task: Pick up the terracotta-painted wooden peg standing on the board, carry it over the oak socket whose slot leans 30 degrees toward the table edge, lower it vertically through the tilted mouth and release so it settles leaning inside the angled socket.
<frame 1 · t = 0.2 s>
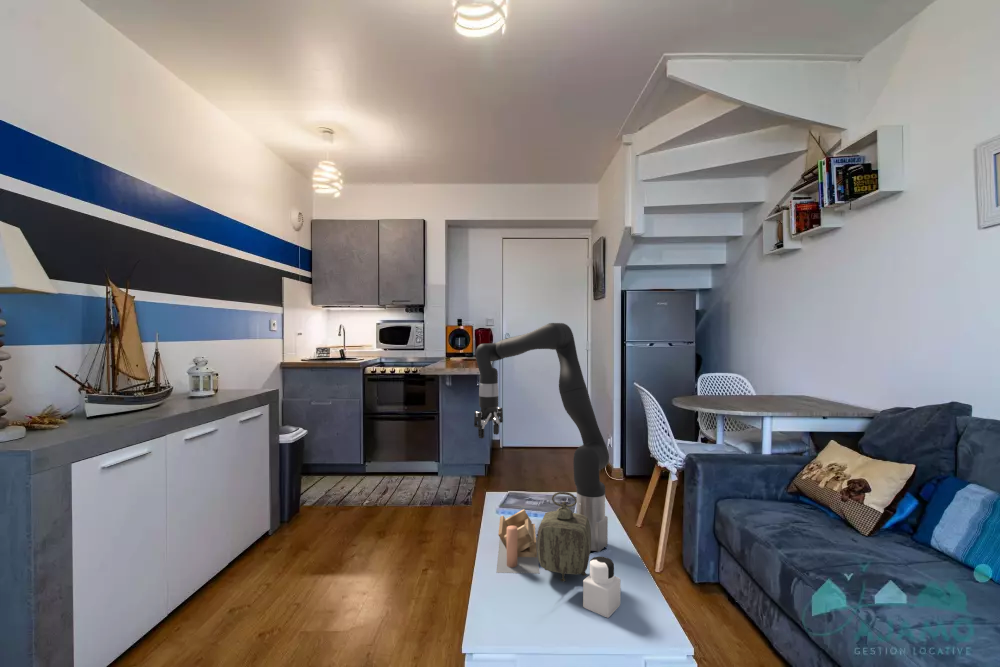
hand: (488, 436, 180), 29 cm above the table, fingers open, 8 cm apart
peg: (512, 564, 137), point 1 cm above the table, touching board
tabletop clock: (563, 581, 131), on the table
white blocky bust: (601, 607, 119), on the table
board: (518, 557, 144), on the table
socket: (520, 546, 148), resting on board
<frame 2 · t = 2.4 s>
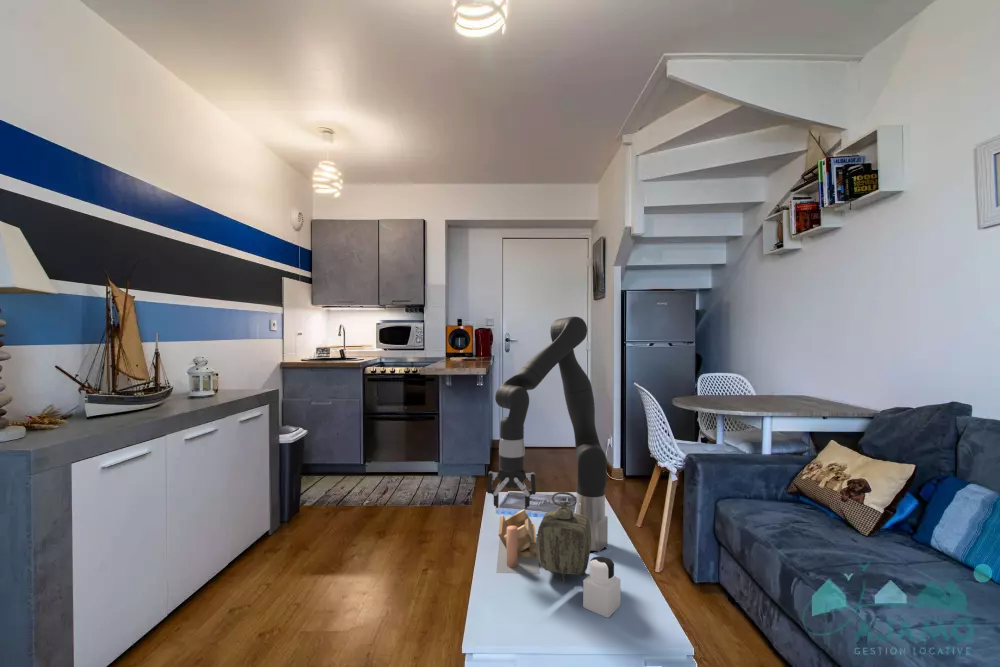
hand: (511, 507, 137), 18 cm above the table, fingers open, 8 cm apart
nothing on the table moved.
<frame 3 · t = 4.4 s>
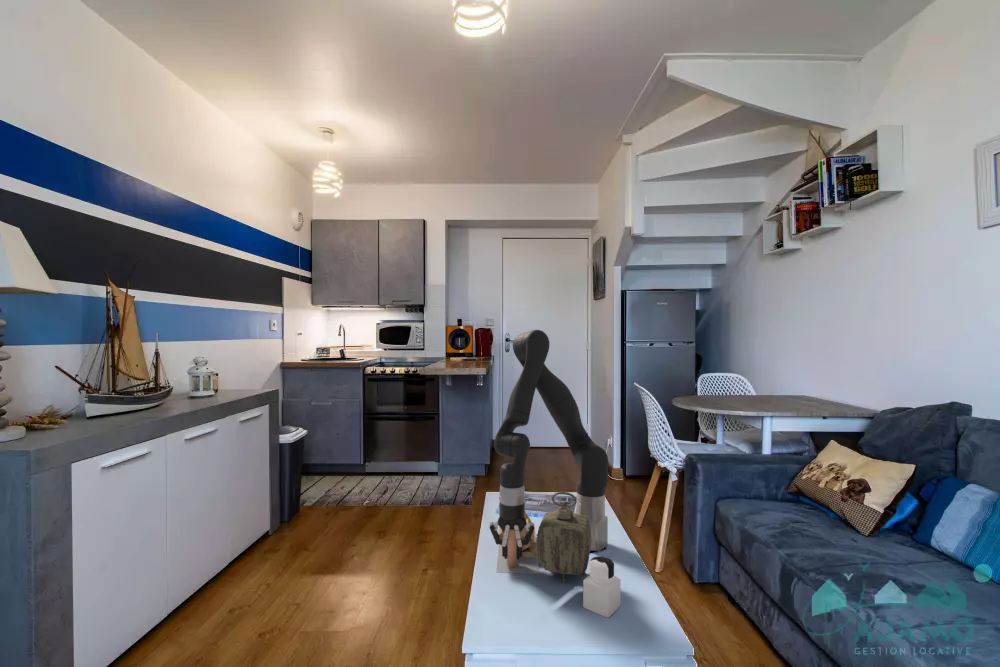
hand: (511, 557, 137), 3 cm above the table, fingers closed on peg, 3 cm apart
peg: (512, 564, 137), point 1 cm above the table, touching board, gripper
everything else where it was.
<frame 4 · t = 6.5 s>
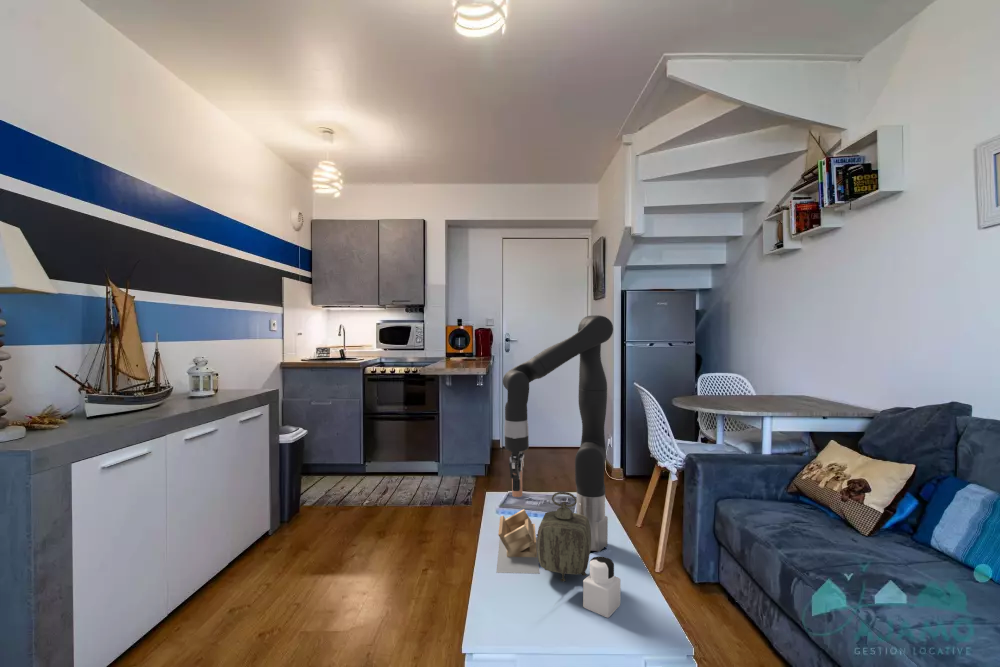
hand: (517, 488, 146), 21 cm above the table, fingers closed on peg, 3 cm apart
peg: (517, 495, 146), point 19 cm above the table, touching gripper
everything else where it was.
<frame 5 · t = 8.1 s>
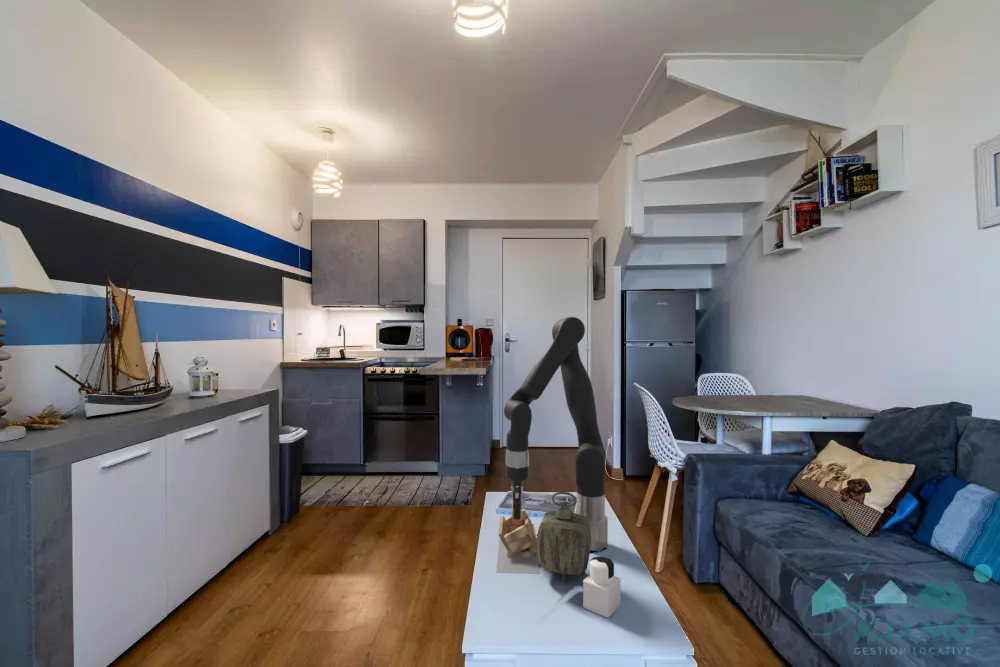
hand: (517, 516, 148), 11 cm above the table, fingers closed on peg, 3 cm apart
peg: (516, 523, 148), point 9 cm above the table, touching gripper
everything else where it was.
when the fingers open (8 cm above the table, at t = 8.9 s): peg drops 2 cm and tips over, resting on socket.
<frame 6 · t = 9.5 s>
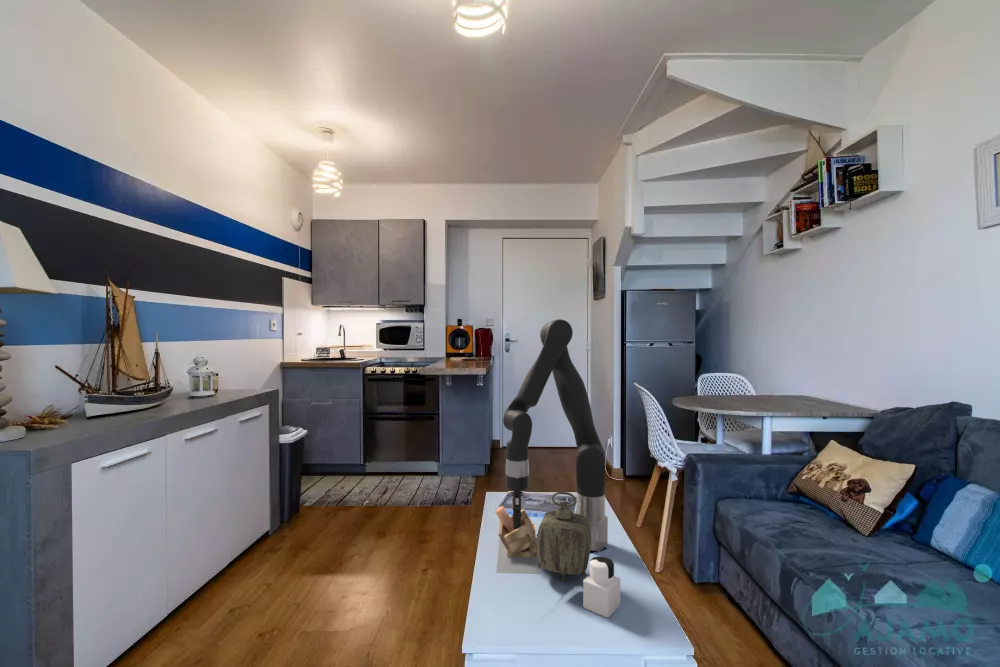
hand: (517, 522, 148), 9 cm above the table, fingers open, 8 cm apart
peg: (517, 538, 149), point 4 cm above the table, tilted 32°, touching socket
everything else where it was.
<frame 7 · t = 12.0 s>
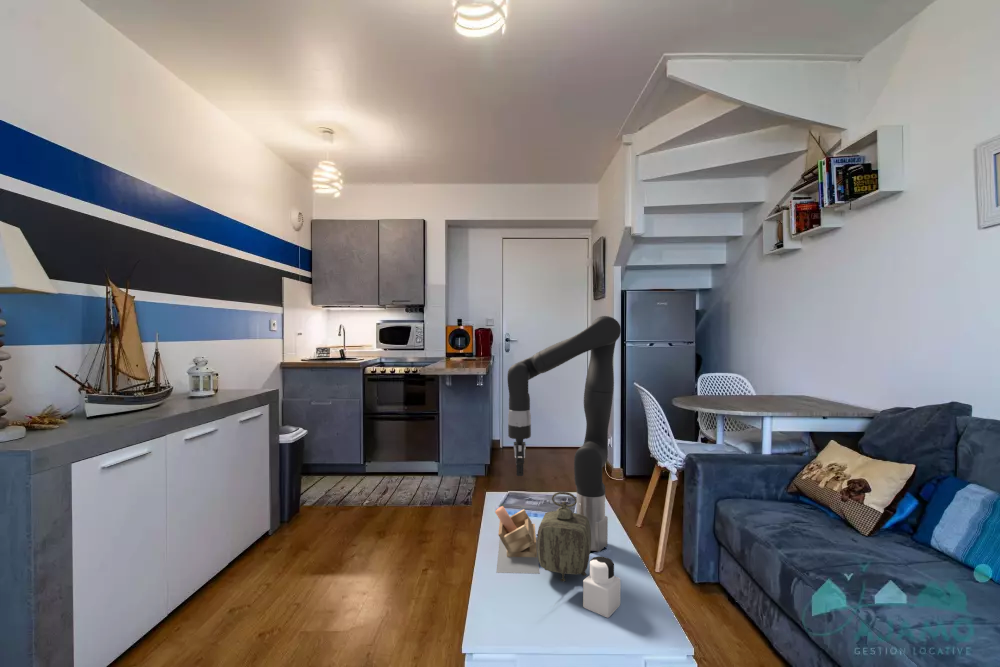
hand: (519, 471, 154), 23 cm above the table, fingers open, 8 cm apart
nothing on the table moved.
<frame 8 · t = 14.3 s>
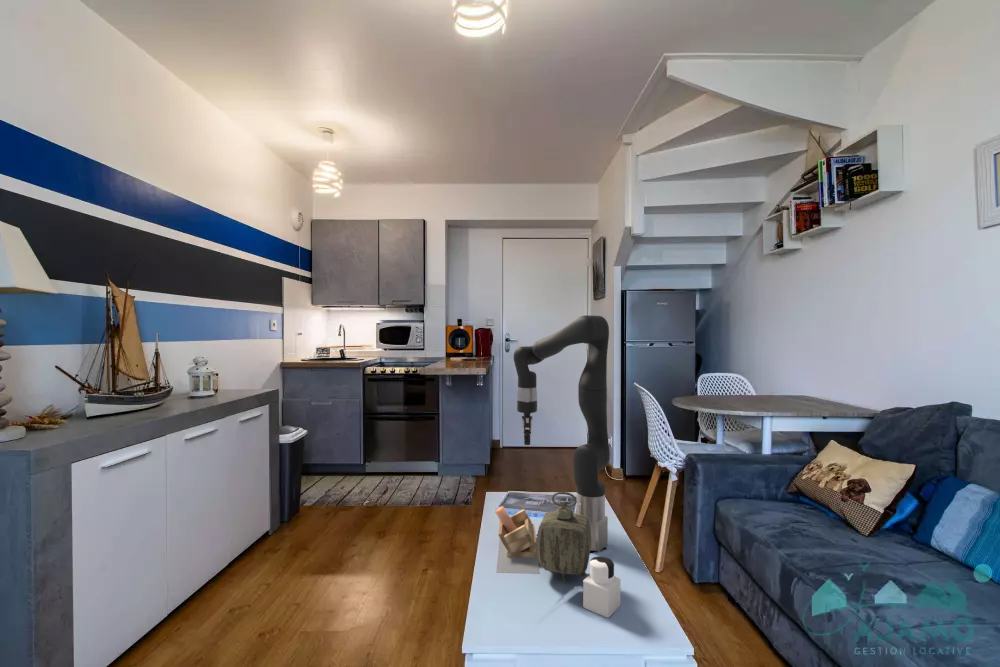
hand: (527, 441, 175), 28 cm above the table, fingers open, 8 cm apart
nothing on the table moved.
at the end: peg inside the target area on the socket (0.8 cm from its centre), point 2.6 cm above the socket's base; peg tilted 32° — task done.
